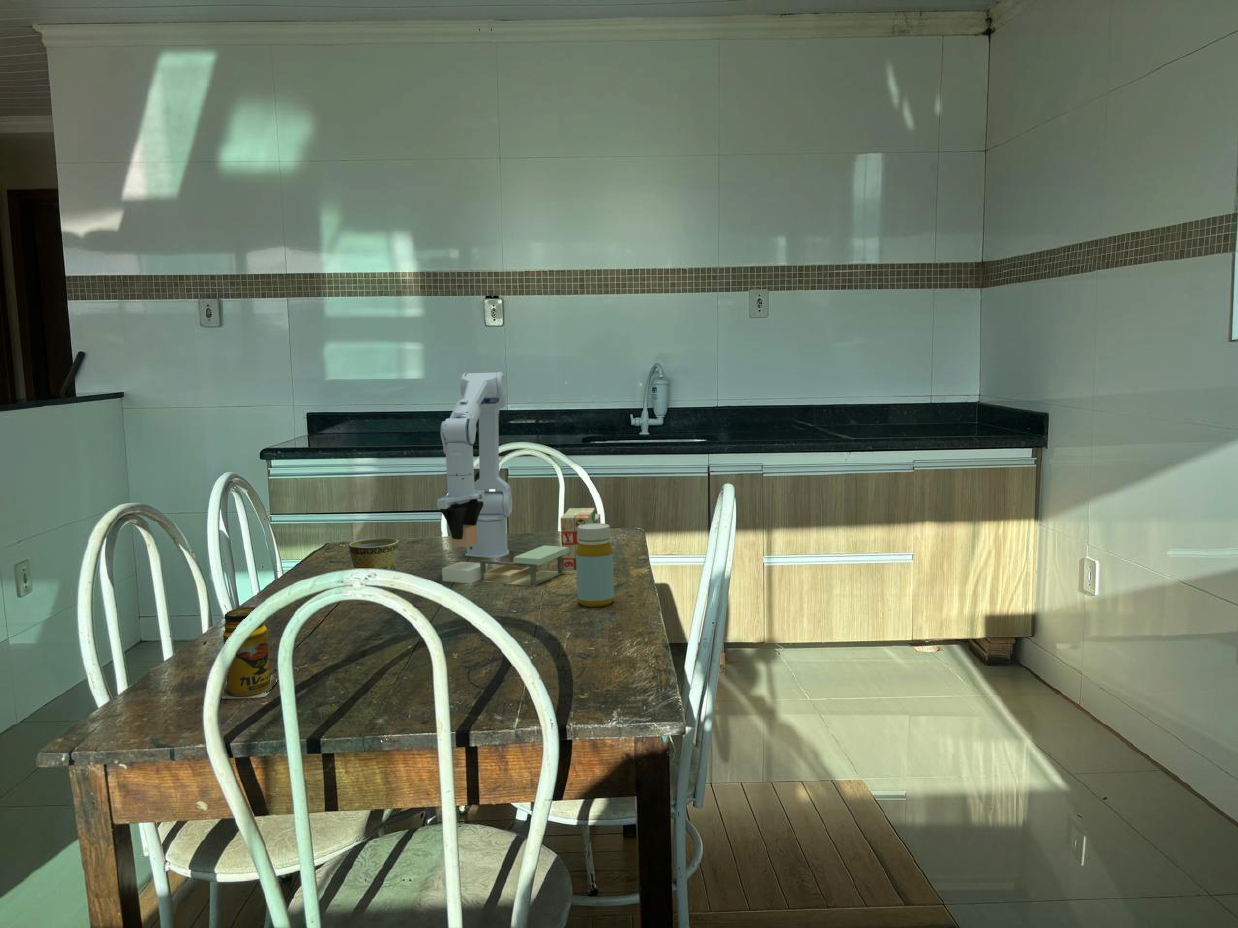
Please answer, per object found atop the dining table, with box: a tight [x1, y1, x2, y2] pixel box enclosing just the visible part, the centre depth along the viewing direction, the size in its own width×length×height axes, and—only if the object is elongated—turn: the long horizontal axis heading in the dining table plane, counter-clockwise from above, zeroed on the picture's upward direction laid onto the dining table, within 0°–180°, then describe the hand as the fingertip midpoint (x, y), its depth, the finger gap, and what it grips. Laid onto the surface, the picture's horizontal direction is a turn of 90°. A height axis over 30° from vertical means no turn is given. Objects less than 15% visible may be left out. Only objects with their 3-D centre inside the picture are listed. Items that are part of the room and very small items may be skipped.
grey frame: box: [479, 549, 565, 587], centre depth 204 cm, size 13×13×5 cm
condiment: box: [221, 606, 278, 700], centre depth 138 cm, size 7×8×12 cm
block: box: [450, 525, 478, 548], centre depth 203 cm, size 4×4×4 cm
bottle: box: [575, 522, 615, 608], centre depth 181 cm, size 7×7×15 cm
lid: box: [514, 544, 569, 566], centre depth 201 cm, size 6×13×1 cm, turn 154°
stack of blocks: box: [560, 507, 602, 571], centre depth 219 cm, size 21×6×12 cm, turn 174°
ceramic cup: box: [348, 537, 399, 571], centre depth 198 cm, size 13×10×10 cm
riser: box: [441, 561, 489, 584], centre depth 204 cm, size 7×7×3 cm
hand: (463, 536), depth 203 cm, fingers closed on block, 4 cm apart
